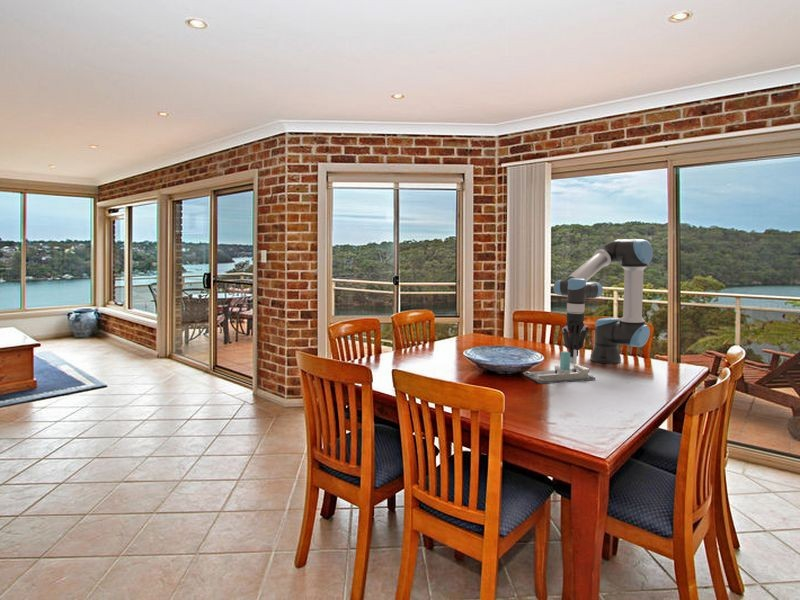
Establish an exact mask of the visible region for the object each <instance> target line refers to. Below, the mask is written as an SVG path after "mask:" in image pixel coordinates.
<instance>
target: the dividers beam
mask: <svg viewBox="0 0 800 600" xmlns="http://www.w3.org/2000/svg"><path fill="white" fill-rule="evenodd" d="M573 368H574V372H572V373H570V374H562V373H557V374H541V375H537V379H538V380H540V379H544V380H551V379H565V378H580V377H588V375H589V374H590V372H591V371H590V370H591V369H590V368H589V367H586V366H582V365H579V364H578V363H576V364H573ZM576 370H579V371H580V372H576Z"/></svg>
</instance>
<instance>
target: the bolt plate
mask: <svg viewBox="0 0 800 600" xmlns="http://www.w3.org/2000/svg"><path fill="white" fill-rule="evenodd" d="M572 372H574V367H573V368H572V369H571V368H570V373H572ZM576 372H580V371H579V370H577V369H576ZM557 373H560V372H559V371H557ZM557 373H555V369H554V370H541V371H539V370H538V371H528V370H526V371H525V372H524V371H523V372H522V374H524V375H523V376H525V377H527V378H529V379H531V380H533V381H534V382H537V383H538V384H540V385H541V384H555V383H569V382H570V383H571V382H583V381H585V382H586V381H596V377H595V376H593V375H591V374H588V377H580V378H565V379H551V380H544V379H540V380H538V379H537V375H541V374H557Z"/></svg>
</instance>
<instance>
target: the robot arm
mask: <svg viewBox="0 0 800 600" xmlns="http://www.w3.org/2000/svg"><path fill="white" fill-rule="evenodd" d="M653 257H654V250H653V247H652V245H651V243H650V241H648V240H646V239H640V238H639V239H638V238H636V239H635V238H634V239H616V240H612V241H610V242H609V241H608V242H607V243H605V244H604V245H601V246H600V247H599V248H598V249H596V250H595V251H594V252H593V255H592V256H591V257H589V258H588V259H587V260H586V261H585V262H584V263H583V264H582V265H580V266H579V267H578V268H577V269H575V271H573V272H572V273H571V274H569V276H567V277H566V278H565V279H557V280H556V281H555V282H554V283H553V287H552V288H553V292H554V294H556V295H557V296H562V297H567V300H566V301H567V302H566V323H565V325H564V327H561V328H560V330H561V332H562V335H563V341H564V346H565V348H566V349H568V350H569V351H568V352H570V364H571V365H575V364H577V357H579V351H580V350H581V349H583V347H584V344H585V340H586V335H587V333H588V331H589V327H586V326H585V323H584V321H585V309H586V306H585V305H586V299H597V298H599V297H600V296H602V294H603V286H602V284H601V283H600V282H598V281H589V280H590V279H591V278H592V277H594V276H595V275H597V273H598V272H599V271H601V270H602V269H603V268H604V267H607V266H609V265H611V264H614V263H621V264H620V265H621V269H623V270H624V271H623V273H624V275H623V276H624V277H623V280H624V281H623V282H624V283H623V308H622V309H623V311H622V313H623V314H622V316H621V317H619V318H618V317H605V318H598V319H596V321H595V327H594V346H593V349H592V351H591V354H590V360H591V362H595V363H597V364H598V363H600V364H606V365H607V364H609V365H616V364H619V363H621V362H622V356H621V353H620V350H619V349H620V348H619V345H623V346H628V347H636V348H642V347H644V346H645V345H646V343H647V342H648V340H649V338H650V335H651V329H650V327H649V326H648V325H647V324H646V320H645V319H644V318H643V297H644V296H643V294H644V272H645V269H646V268H647V267H648V264H649V263H651V262H652V259H653Z"/></svg>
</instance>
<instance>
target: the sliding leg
mask: <svg viewBox="0 0 800 600" xmlns="http://www.w3.org/2000/svg"><path fill="white" fill-rule="evenodd" d="M559 362H560V363H559V365H556V364H555V365H554V370H555V373H557V371H559V372H560V373H562V374H570V369H571V363H570V352H569V351H567V350H562V351H560V358H559Z"/></svg>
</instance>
